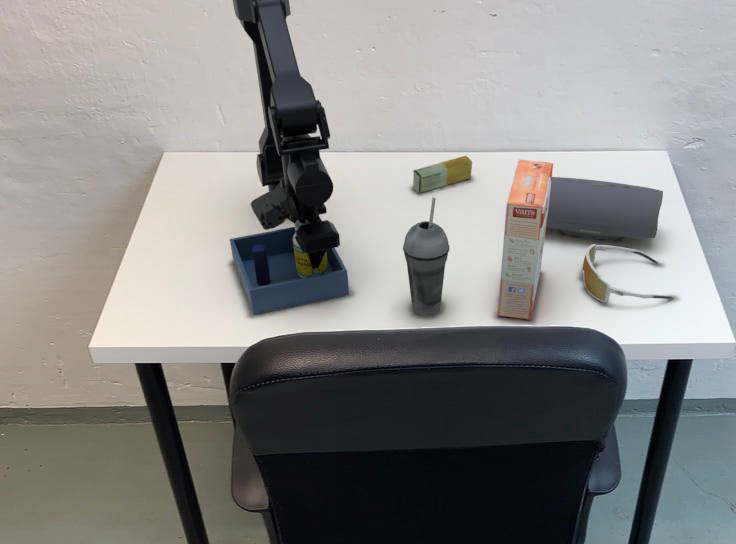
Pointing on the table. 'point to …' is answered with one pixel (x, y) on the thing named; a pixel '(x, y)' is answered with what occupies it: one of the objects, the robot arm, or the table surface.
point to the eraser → (261, 264)
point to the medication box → (442, 174)
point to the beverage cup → (426, 264)
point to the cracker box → (524, 238)
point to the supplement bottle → (307, 260)
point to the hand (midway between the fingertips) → (311, 258)
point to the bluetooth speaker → (603, 209)
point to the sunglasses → (598, 285)
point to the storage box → (285, 273)
